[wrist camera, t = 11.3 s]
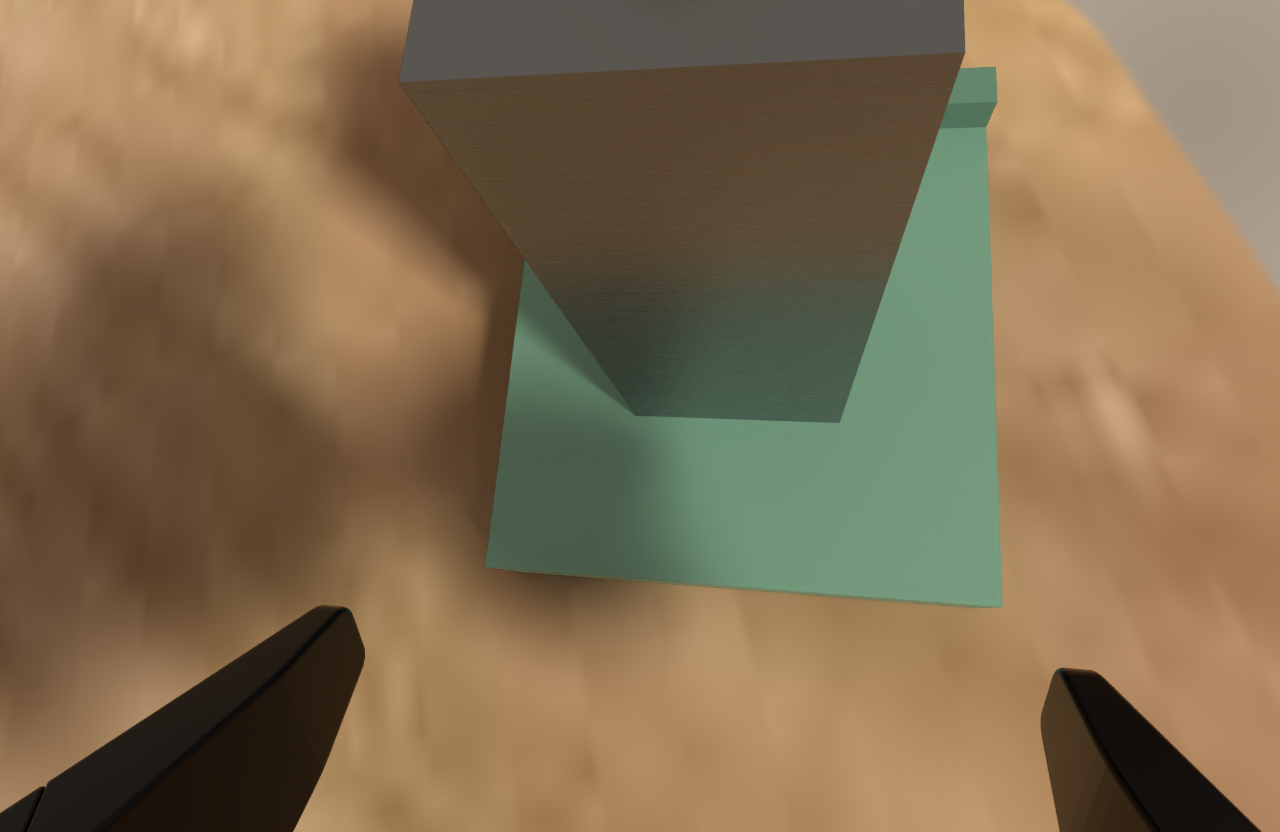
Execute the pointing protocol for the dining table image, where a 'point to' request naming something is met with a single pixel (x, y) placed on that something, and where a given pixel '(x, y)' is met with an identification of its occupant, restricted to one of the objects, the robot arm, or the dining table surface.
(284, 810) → the robot arm
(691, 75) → the block
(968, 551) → the coupler stand
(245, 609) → the dining table surface
